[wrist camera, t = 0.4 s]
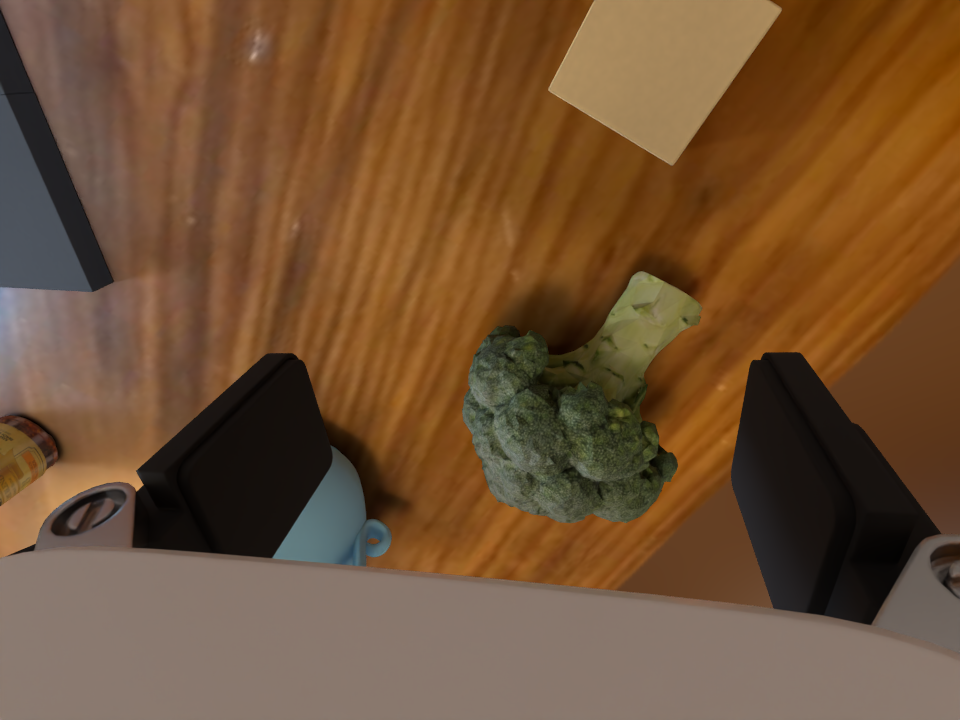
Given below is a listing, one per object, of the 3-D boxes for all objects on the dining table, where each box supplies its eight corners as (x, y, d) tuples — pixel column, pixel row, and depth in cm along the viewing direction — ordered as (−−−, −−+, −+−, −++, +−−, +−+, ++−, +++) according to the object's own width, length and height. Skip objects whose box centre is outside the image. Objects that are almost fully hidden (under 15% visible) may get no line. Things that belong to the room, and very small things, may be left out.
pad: (632, -69, 22) (638, -87, 19) (760, 14, 22) (784, 8, 20) (551, 87, 25) (547, 90, 22) (664, 155, 26) (673, 166, 23)
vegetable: (787, 386, 28) (613, 584, 30) (617, 285, 36) (485, 444, 37) (773, 284, 19) (517, 582, 20) (547, 179, 27) (373, 395, 28)
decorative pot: (304, 367, 37) (174, 505, 25) (421, 517, 43) (359, 686, 31) (167, 433, 43) (14, 567, 32) (286, 556, 49) (192, 708, 38)
